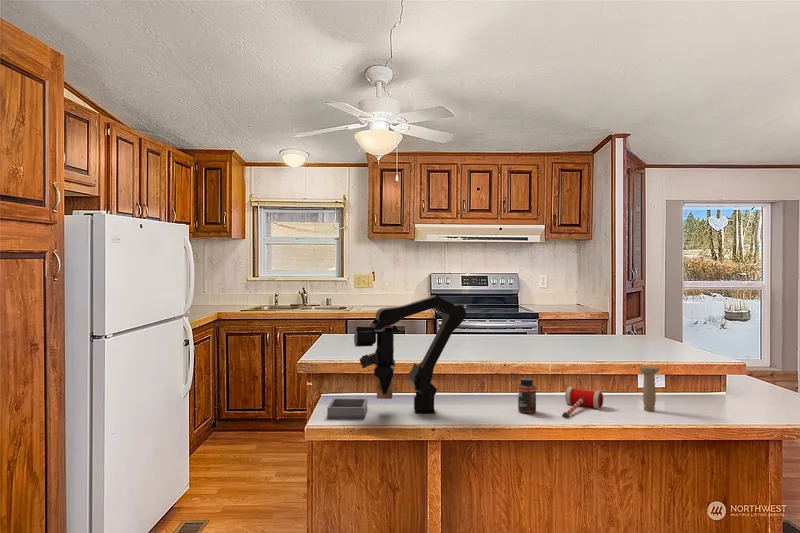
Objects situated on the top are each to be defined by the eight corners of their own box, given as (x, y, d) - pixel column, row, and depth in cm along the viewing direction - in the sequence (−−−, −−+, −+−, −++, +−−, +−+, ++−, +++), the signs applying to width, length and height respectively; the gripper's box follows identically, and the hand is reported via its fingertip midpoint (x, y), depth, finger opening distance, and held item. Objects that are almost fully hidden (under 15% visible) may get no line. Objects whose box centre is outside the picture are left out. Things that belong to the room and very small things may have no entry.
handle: (636, 409, 174) (636, 366, 174) (653, 408, 175) (652, 365, 175) (645, 412, 169) (645, 368, 169) (662, 412, 170) (662, 368, 170)
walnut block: (392, 395, 169) (392, 374, 169) (391, 398, 164) (392, 377, 164) (377, 395, 169) (378, 374, 170) (376, 398, 164) (377, 377, 165)
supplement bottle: (537, 410, 171) (537, 378, 171) (533, 415, 166) (533, 381, 166) (520, 408, 174) (520, 376, 174) (516, 412, 169) (516, 379, 169)
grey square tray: (367, 408, 173) (367, 398, 173) (364, 418, 161) (364, 407, 161) (333, 408, 173) (333, 398, 173) (327, 418, 161) (327, 407, 161)
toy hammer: (582, 422, 159) (582, 402, 159) (547, 416, 166) (547, 397, 166) (603, 407, 177) (603, 389, 177) (570, 402, 184) (570, 385, 184)
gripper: (363, 341, 177) (363, 385, 176) (358, 349, 158) (358, 398, 158) (395, 342, 176) (394, 386, 176) (393, 350, 158) (393, 399, 157)
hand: (384, 392), depth 167 cm, fingers closed on walnut block, 5 cm apart
